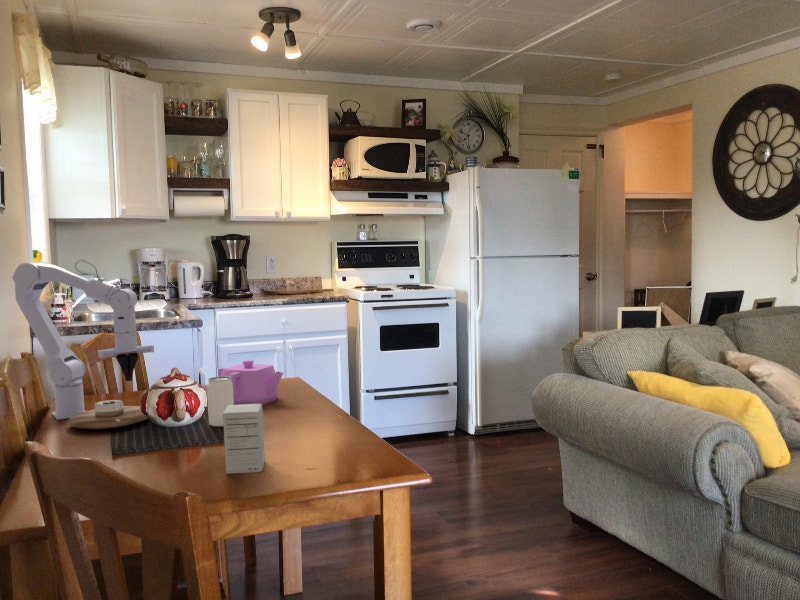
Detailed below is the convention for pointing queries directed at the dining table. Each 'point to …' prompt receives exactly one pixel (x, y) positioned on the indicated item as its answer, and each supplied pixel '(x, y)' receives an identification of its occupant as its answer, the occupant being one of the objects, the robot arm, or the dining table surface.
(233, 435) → the supplement box
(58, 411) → the robot arm
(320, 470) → the dining table surface
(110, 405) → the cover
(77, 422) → the turntable
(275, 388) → the teakettle
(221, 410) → the can
